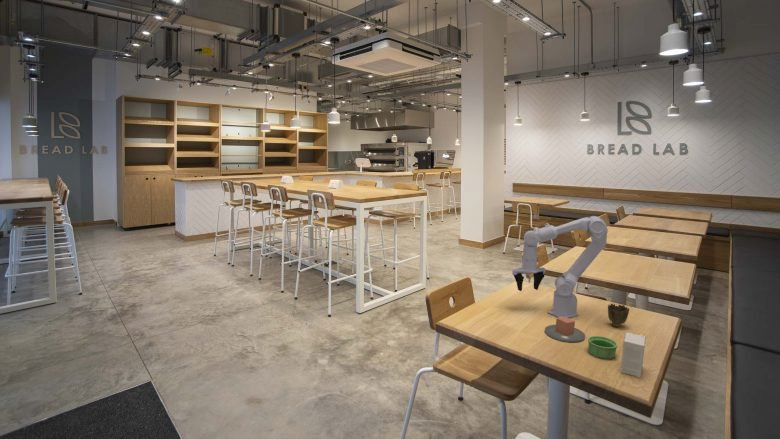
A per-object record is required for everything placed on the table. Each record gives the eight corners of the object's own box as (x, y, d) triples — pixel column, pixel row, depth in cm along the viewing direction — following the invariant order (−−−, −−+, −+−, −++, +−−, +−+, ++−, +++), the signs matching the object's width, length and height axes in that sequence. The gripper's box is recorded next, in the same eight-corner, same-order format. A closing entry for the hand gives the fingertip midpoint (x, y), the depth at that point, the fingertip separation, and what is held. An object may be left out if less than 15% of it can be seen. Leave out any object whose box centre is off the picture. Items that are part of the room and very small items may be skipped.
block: (562, 328, 156) (563, 316, 155) (573, 333, 152) (574, 321, 151) (555, 330, 154) (556, 318, 154) (566, 335, 150) (567, 323, 149)
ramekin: (605, 362, 133) (606, 349, 132) (581, 350, 141) (582, 338, 140) (622, 356, 137) (623, 344, 136) (598, 345, 145) (599, 333, 144)
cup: (626, 324, 163) (628, 305, 162) (628, 331, 156) (630, 311, 155) (605, 321, 166) (607, 302, 165) (606, 327, 159) (608, 308, 158)
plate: (562, 324, 163) (562, 322, 162) (593, 338, 150) (593, 336, 150) (536, 330, 156) (536, 328, 156) (567, 345, 144) (567, 343, 144)
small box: (622, 361, 133) (625, 331, 131) (642, 367, 130) (646, 336, 128) (620, 372, 127) (623, 340, 125) (641, 378, 123) (644, 345, 122)
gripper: (519, 262, 168) (517, 293, 170) (550, 260, 171) (548, 291, 173) (510, 258, 174) (508, 288, 176) (540, 256, 177) (538, 286, 180)
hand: (527, 289), depth 175 cm, fingers open, 7 cm apart
